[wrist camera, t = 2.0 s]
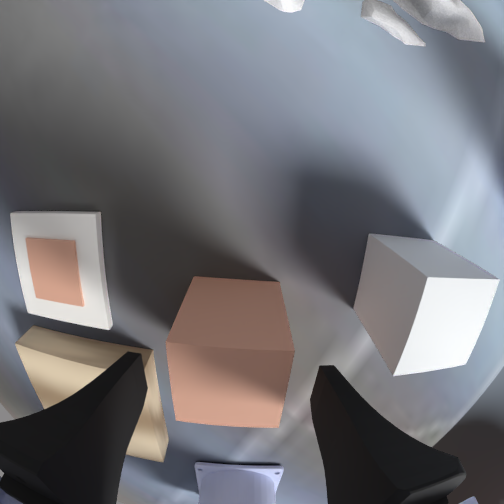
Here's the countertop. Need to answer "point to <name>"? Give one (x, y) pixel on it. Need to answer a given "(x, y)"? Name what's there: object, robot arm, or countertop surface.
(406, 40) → the cloth
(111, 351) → the oak base block
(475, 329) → the white block
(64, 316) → the tile
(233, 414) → the terracotta block
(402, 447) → the robot arm
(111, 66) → the countertop surface
